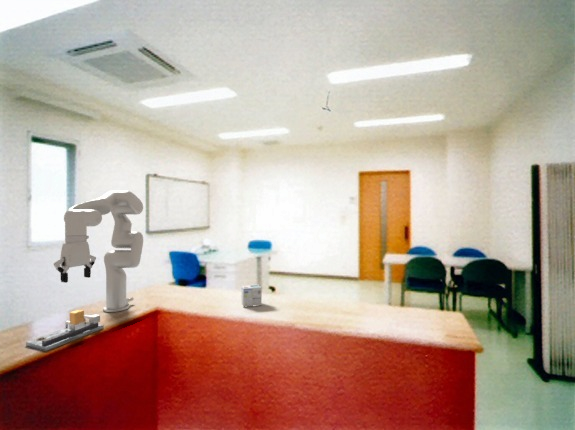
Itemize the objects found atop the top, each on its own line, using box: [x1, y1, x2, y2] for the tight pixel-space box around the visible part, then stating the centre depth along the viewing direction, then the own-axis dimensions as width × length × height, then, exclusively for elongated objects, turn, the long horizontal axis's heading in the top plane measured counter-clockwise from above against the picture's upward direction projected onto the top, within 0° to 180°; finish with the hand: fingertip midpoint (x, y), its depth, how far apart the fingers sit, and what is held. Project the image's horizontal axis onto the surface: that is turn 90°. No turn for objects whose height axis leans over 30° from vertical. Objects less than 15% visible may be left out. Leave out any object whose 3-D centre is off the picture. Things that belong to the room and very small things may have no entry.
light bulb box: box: [241, 284, 263, 307], centre depth 176 cm, size 11×7×11 cm, turn 108°
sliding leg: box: [64, 309, 85, 330], centre depth 133 cm, size 4×9×8 cm, turn 69°
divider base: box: [25, 314, 104, 352], centre depth 131 cm, size 24×12×6 cm, turn 159°
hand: (76, 279), depth 131 cm, fingers open, 9 cm apart
